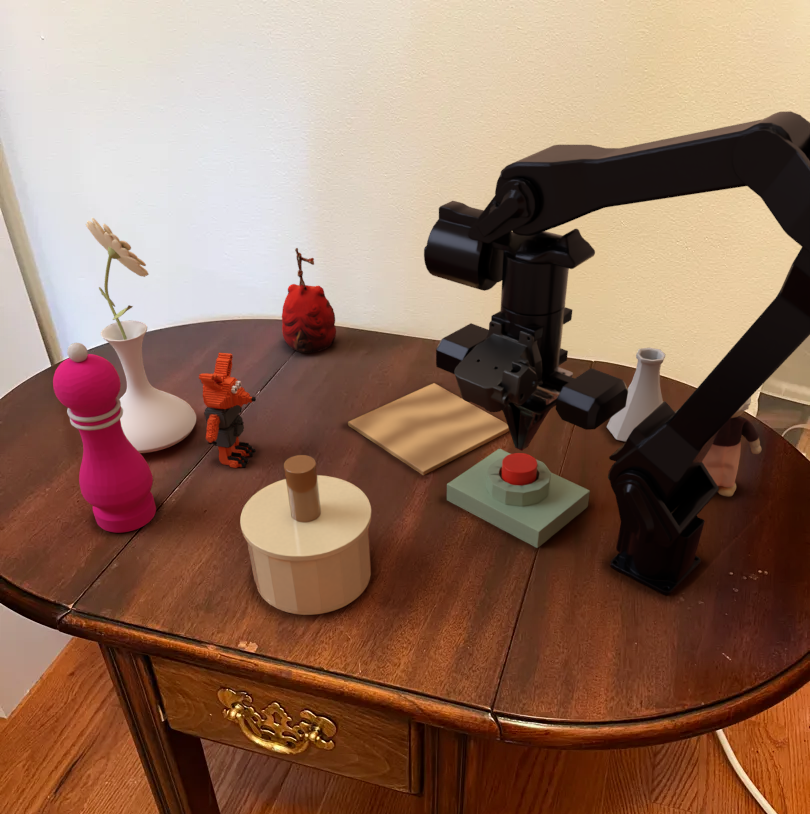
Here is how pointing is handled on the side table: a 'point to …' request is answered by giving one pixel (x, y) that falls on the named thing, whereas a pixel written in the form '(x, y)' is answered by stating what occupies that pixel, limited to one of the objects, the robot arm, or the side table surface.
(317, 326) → the red clay folk toy
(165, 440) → the flower in vase
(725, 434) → the grandmother figurine
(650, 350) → the flask
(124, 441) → the pepper mill
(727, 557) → the side table surface
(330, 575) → the jar
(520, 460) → the release button
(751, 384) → the robot arm
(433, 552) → the side table surface
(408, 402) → the wooden board
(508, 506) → the button base
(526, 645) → the side table surface
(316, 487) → the jar lid
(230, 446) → the toy animal
